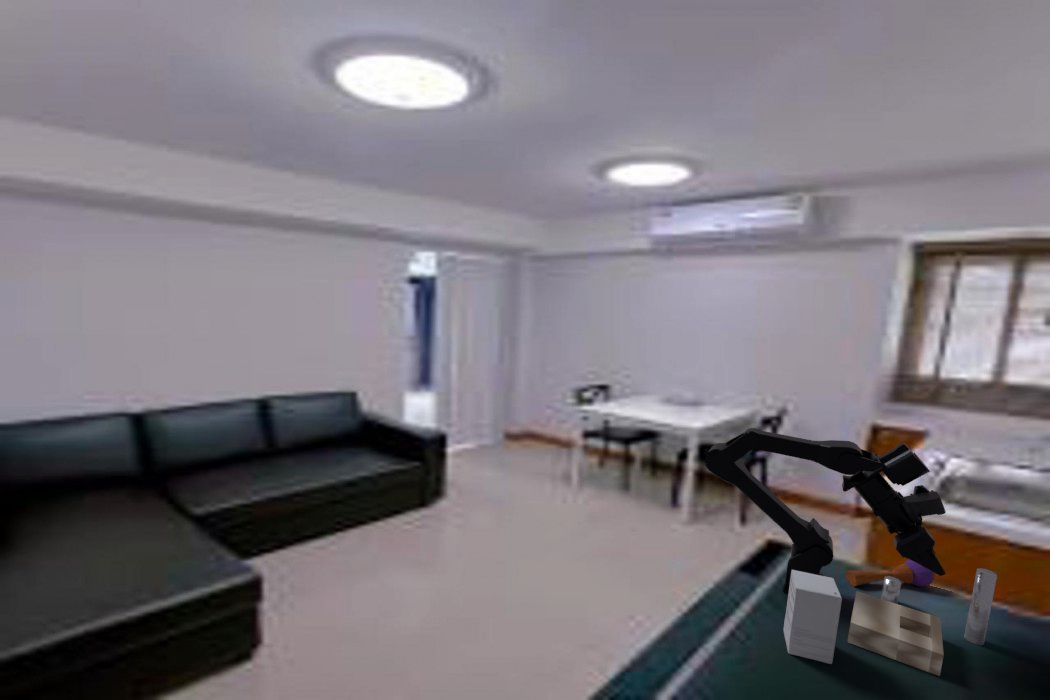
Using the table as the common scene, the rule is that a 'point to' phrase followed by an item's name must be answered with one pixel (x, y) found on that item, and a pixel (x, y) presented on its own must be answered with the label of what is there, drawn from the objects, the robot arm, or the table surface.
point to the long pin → (980, 606)
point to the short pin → (891, 589)
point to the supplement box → (812, 616)
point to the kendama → (894, 575)
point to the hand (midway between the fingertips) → (938, 564)
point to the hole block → (897, 632)
